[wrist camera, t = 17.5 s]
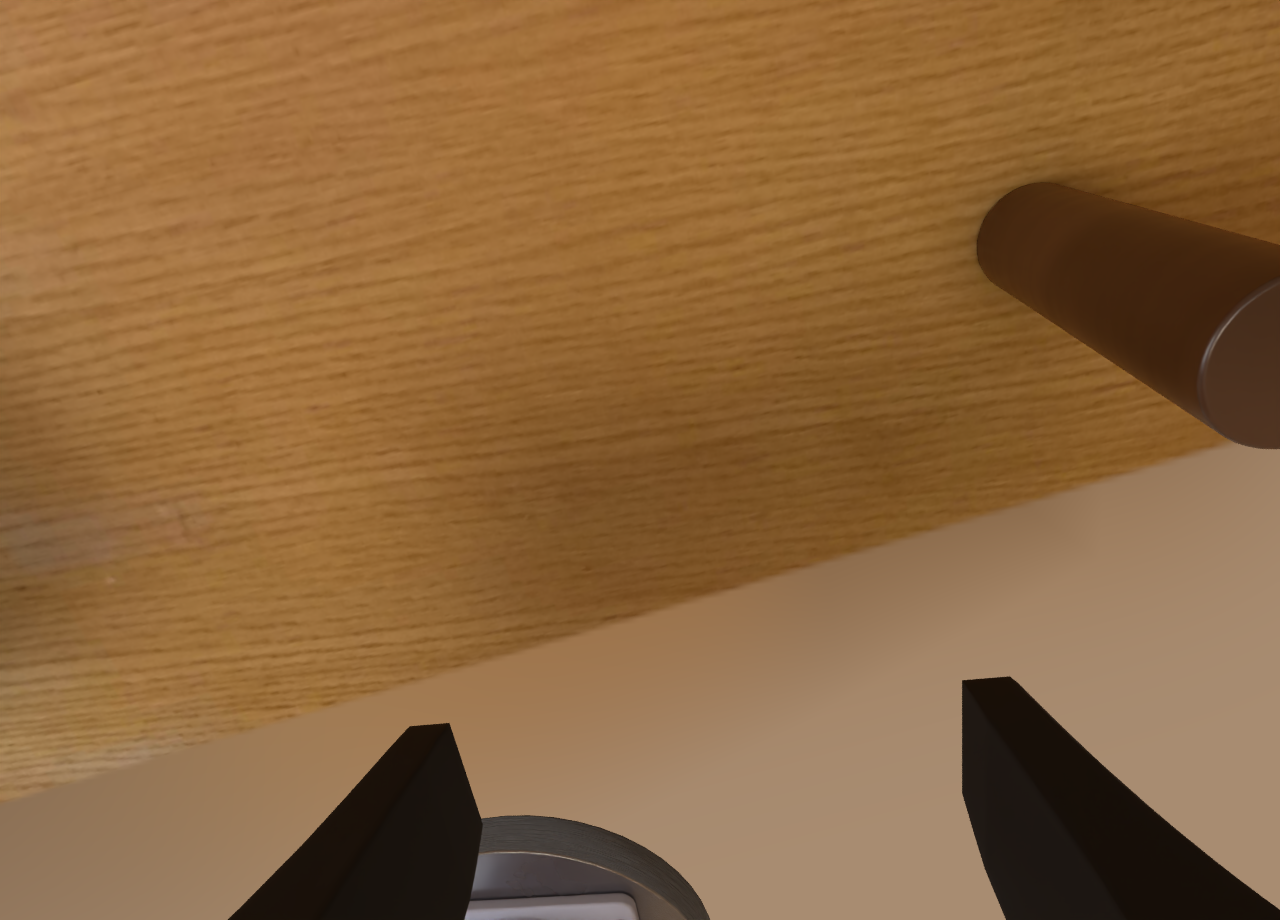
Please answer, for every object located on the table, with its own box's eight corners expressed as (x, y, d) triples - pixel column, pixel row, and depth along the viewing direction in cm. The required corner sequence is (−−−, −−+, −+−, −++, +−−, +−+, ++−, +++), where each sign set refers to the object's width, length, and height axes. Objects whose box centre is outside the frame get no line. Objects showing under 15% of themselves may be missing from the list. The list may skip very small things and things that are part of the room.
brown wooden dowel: (1084, 283, 19) (1390, 439, 10) (975, 298, 19) (1189, 462, 11) (1091, 173, 18) (1434, 250, 9) (976, 191, 18) (1211, 280, 10)
